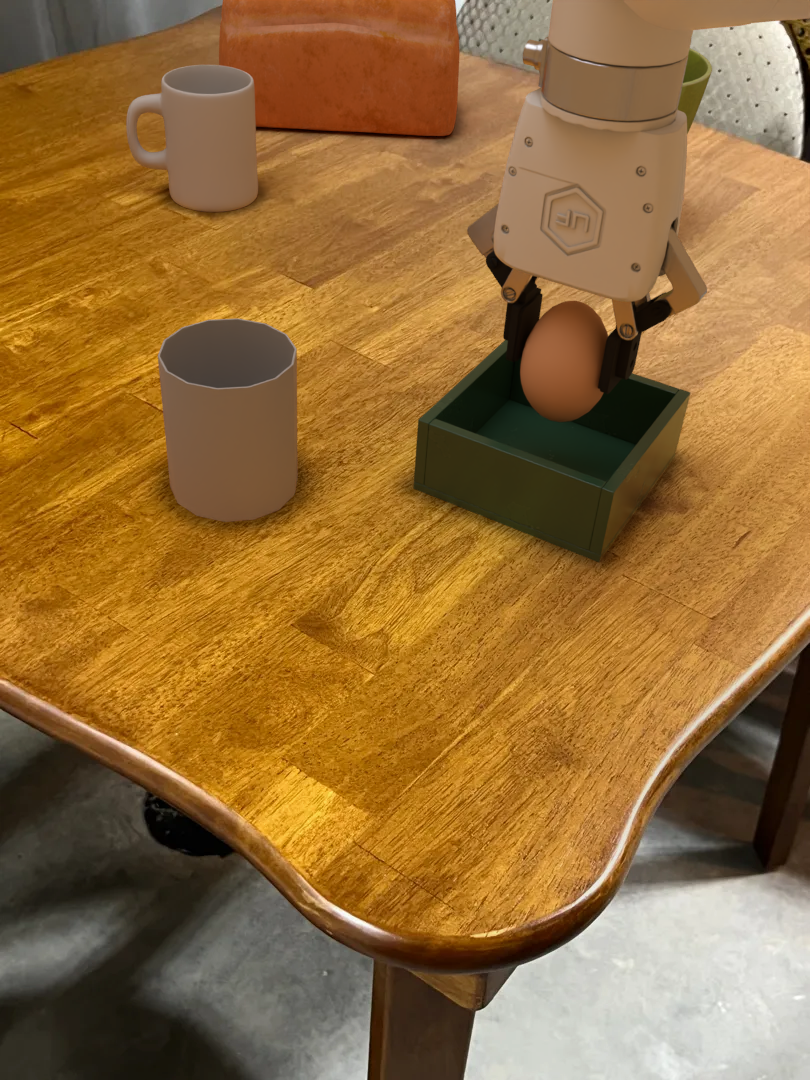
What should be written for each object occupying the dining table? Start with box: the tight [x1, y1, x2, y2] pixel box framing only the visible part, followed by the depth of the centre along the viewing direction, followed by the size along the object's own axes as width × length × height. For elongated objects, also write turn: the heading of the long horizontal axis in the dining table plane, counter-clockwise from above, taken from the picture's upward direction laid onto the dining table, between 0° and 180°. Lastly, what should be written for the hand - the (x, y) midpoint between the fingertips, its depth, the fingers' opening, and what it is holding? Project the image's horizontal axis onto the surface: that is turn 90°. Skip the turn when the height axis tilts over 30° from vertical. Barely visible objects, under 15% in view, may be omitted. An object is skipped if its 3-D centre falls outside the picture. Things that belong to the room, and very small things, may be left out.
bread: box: [218, 0, 460, 137], centre depth 126 cm, size 14×26×16 cm, turn 90°
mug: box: [125, 64, 259, 213], centre depth 109 cm, size 12×8×11 cm
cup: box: [157, 317, 299, 523], centre depth 74 cm, size 8×8×10 cm
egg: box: [520, 300, 609, 422], centre depth 74 cm, size 6×6×8 cm
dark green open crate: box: [412, 339, 691, 563], centre depth 78 cm, size 14×14×6 cm
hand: (565, 365), depth 74 cm, fingers closed on egg, 5 cm apart
